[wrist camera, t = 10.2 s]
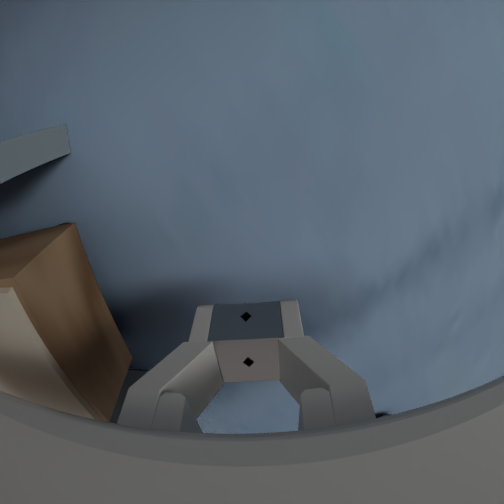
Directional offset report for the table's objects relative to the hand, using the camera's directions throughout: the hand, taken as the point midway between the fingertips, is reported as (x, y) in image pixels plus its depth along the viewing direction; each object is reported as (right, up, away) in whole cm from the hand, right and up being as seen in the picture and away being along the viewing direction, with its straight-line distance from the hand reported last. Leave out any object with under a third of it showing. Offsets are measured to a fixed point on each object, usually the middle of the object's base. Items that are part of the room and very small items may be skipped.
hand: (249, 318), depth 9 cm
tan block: (-11, 0, +3) cm, 11 cm away
